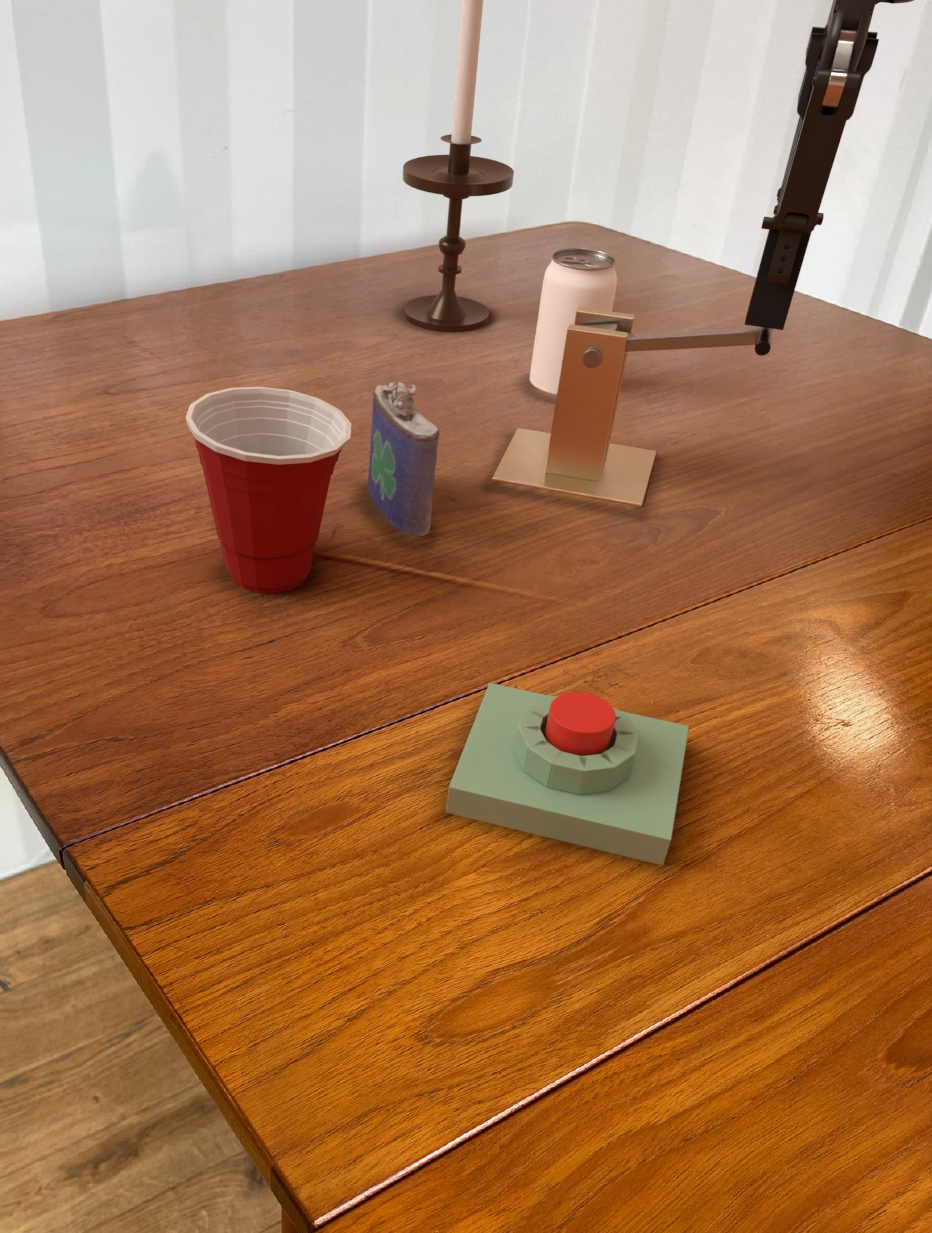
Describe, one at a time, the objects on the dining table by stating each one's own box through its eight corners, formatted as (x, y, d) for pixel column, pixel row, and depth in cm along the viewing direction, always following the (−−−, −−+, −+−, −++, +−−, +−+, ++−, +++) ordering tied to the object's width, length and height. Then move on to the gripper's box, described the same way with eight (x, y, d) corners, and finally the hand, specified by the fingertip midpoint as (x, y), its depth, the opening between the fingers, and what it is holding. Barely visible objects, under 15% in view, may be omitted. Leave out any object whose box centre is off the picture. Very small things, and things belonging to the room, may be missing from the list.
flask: (435, 544, 84) (447, 407, 77) (399, 550, 83) (408, 412, 76) (390, 488, 90) (398, 357, 83) (356, 493, 90) (361, 361, 83)
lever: (772, 337, 84) (774, 304, 82) (769, 364, 80) (771, 330, 79) (585, 348, 89) (584, 318, 87) (574, 374, 85) (572, 342, 83)
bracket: (653, 463, 95) (688, 310, 87) (638, 518, 88) (675, 357, 80) (515, 440, 98) (536, 289, 89) (490, 491, 91) (510, 332, 82)
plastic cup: (359, 611, 77) (366, 448, 69) (201, 621, 76) (190, 456, 68) (335, 532, 85) (338, 377, 77) (192, 540, 84) (180, 383, 76)
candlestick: (444, 293, 125) (477, -105, 101) (517, 321, 119) (570, -94, 95) (373, 315, 119) (391, -102, 96) (447, 346, 113) (485, -90, 90)
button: (614, 723, 63) (620, 699, 62) (605, 763, 61) (611, 738, 59) (551, 710, 64) (556, 685, 63) (539, 748, 61) (544, 723, 60)
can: (590, 410, 103) (615, 274, 95) (521, 398, 104) (540, 263, 96) (601, 383, 107) (626, 251, 99) (535, 373, 109) (554, 242, 101)
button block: (680, 753, 67) (696, 701, 64) (662, 869, 60) (679, 815, 57) (485, 710, 69) (492, 658, 67) (445, 815, 62) (451, 762, 60)
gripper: (813, -99, 71) (718, 287, 86) (809, -82, 61) (703, 347, 77) (939, -91, 69) (818, 301, 85) (955, -72, 60) (816, 364, 76)
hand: (764, 323), depth 81 cm, fingers closed
